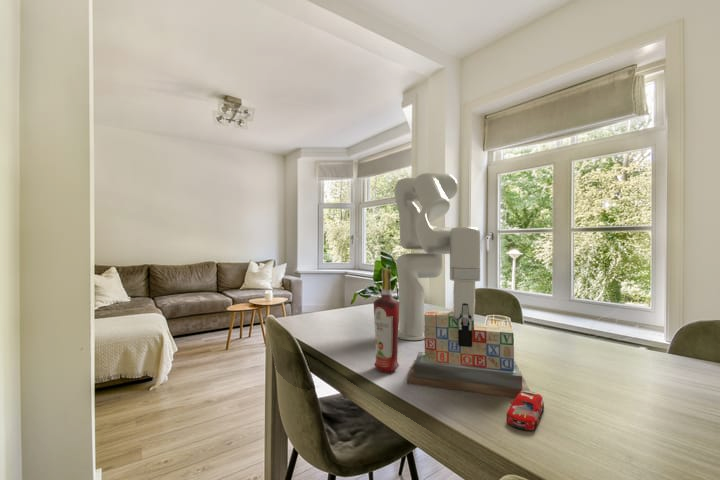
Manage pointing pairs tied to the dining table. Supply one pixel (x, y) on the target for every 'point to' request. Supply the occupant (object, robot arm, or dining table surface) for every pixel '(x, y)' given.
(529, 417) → the race car
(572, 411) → the dining table surface
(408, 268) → the robot arm
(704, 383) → the dining table surface
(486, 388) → the build plinth
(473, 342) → the stack of blocks
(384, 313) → the liquor
